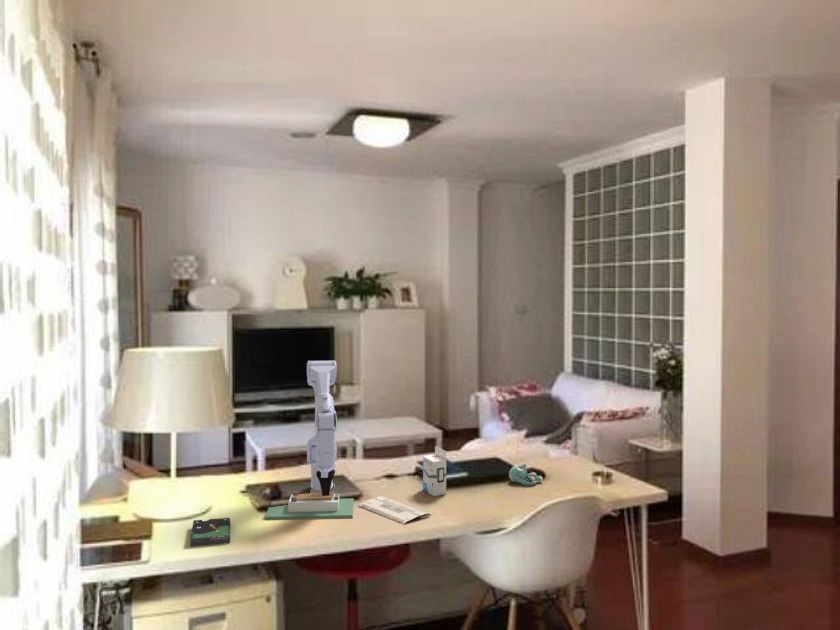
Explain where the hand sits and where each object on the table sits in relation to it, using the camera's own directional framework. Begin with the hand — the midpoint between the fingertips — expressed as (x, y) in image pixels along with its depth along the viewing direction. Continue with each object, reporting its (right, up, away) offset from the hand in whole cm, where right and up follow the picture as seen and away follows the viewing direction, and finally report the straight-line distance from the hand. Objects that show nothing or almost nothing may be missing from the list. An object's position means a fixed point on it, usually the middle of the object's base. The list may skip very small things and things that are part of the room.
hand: (325, 494), depth 213 cm
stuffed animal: (+67, -4, +31) cm, 74 cm away
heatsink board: (-5, -5, 0) cm, 7 cm away
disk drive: (-29, -6, -22) cm, 37 cm away
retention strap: (-4, -1, 0) cm, 4 cm away
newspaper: (+21, -6, 0) cm, 22 cm away
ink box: (+34, -4, +19) cm, 39 cm away
